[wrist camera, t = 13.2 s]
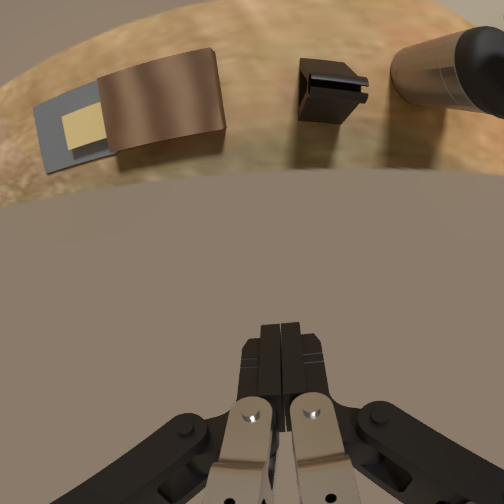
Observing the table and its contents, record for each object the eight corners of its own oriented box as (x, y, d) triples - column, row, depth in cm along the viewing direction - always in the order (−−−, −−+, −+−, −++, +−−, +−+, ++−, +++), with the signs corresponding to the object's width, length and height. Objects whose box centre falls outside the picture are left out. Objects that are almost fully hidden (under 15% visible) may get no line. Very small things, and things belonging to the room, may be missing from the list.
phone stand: (300, 58, 37) (312, 41, 26) (343, 63, 36) (370, 49, 26) (297, 120, 41) (309, 125, 30) (340, 124, 40) (366, 131, 30)
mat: (106, 77, 38) (105, 77, 38) (119, 152, 43) (118, 152, 43) (34, 107, 39) (33, 107, 39) (47, 173, 45) (46, 173, 44)
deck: (215, 52, 37) (210, 47, 33) (226, 127, 41) (222, 129, 38) (109, 79, 38) (96, 78, 35) (121, 148, 43) (109, 152, 39)
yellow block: (110, 100, 39) (104, 100, 37) (117, 134, 42) (111, 136, 40) (68, 115, 40) (61, 116, 38) (75, 148, 42) (68, 150, 41)
